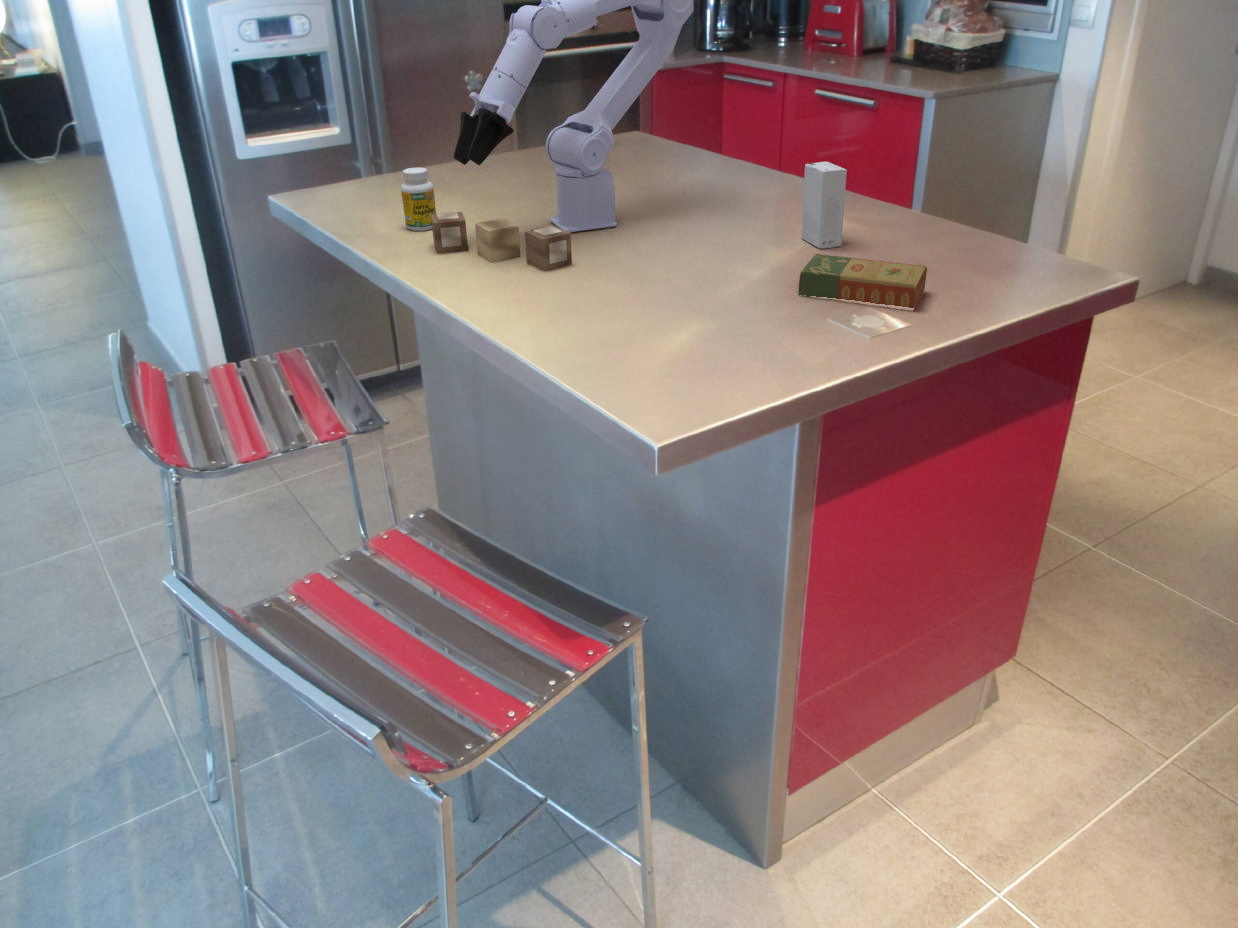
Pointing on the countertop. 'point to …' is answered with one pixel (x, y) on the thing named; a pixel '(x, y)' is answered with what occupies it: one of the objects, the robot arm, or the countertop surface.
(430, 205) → the supplement bottle
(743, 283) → the countertop surface
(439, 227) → the walnut block
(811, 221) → the skincare box
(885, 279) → the carton
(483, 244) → the oak block
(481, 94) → the robot arm
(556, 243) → the walnut block
